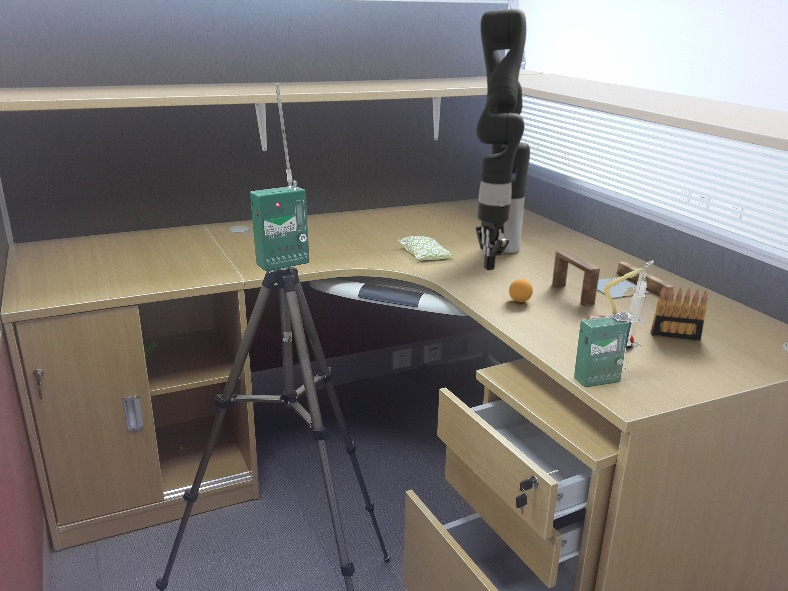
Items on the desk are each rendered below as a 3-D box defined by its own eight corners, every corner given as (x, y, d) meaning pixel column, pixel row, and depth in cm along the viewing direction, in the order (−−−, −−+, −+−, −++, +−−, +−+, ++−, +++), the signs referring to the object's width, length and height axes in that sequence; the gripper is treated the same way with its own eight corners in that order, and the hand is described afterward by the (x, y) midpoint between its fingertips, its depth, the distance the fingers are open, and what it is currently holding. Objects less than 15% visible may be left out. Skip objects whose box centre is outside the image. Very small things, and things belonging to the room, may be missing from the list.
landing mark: (584, 282, 182) (584, 281, 182) (620, 277, 186) (620, 276, 186) (612, 298, 172) (612, 298, 172) (649, 293, 176) (649, 292, 176)
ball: (503, 298, 171) (505, 277, 169) (523, 295, 173) (526, 274, 171) (515, 307, 166) (517, 285, 163) (536, 304, 168) (538, 282, 165)
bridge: (584, 305, 168) (589, 269, 164) (551, 284, 181) (555, 250, 177) (594, 304, 169) (600, 268, 165) (561, 283, 182) (565, 249, 178)
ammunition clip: (651, 335, 152) (660, 287, 148) (650, 332, 154) (659, 284, 149) (700, 340, 150) (711, 292, 146) (699, 337, 152) (709, 289, 147)
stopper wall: (617, 272, 190) (618, 262, 189) (622, 271, 191) (624, 261, 190) (666, 297, 173) (668, 287, 172) (672, 296, 174) (674, 286, 173)
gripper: (467, 194, 160) (463, 262, 167) (493, 208, 149) (488, 280, 155) (495, 192, 163) (489, 259, 169) (523, 206, 151) (516, 276, 158)
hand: (489, 269), depth 162 cm, fingers closed
